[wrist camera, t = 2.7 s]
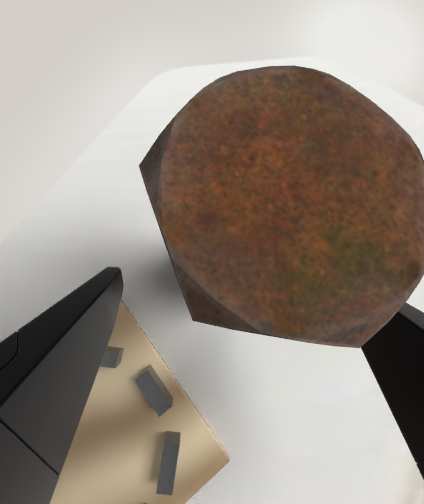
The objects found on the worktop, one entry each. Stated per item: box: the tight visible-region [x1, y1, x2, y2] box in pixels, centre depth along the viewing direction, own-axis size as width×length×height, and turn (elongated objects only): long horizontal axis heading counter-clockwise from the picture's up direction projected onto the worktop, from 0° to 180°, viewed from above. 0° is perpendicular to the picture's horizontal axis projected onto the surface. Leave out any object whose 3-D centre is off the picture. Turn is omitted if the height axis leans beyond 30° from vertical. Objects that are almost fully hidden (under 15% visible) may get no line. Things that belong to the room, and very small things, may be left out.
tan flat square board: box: [50, 300, 229, 504], centre depth 15 cm, size 14×14×1 cm
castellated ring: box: [100, 346, 181, 504], centre depth 14 cm, size 13×13×1 cm
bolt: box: [139, 66, 424, 348], centre depth 11 cm, size 6×5×15 cm
